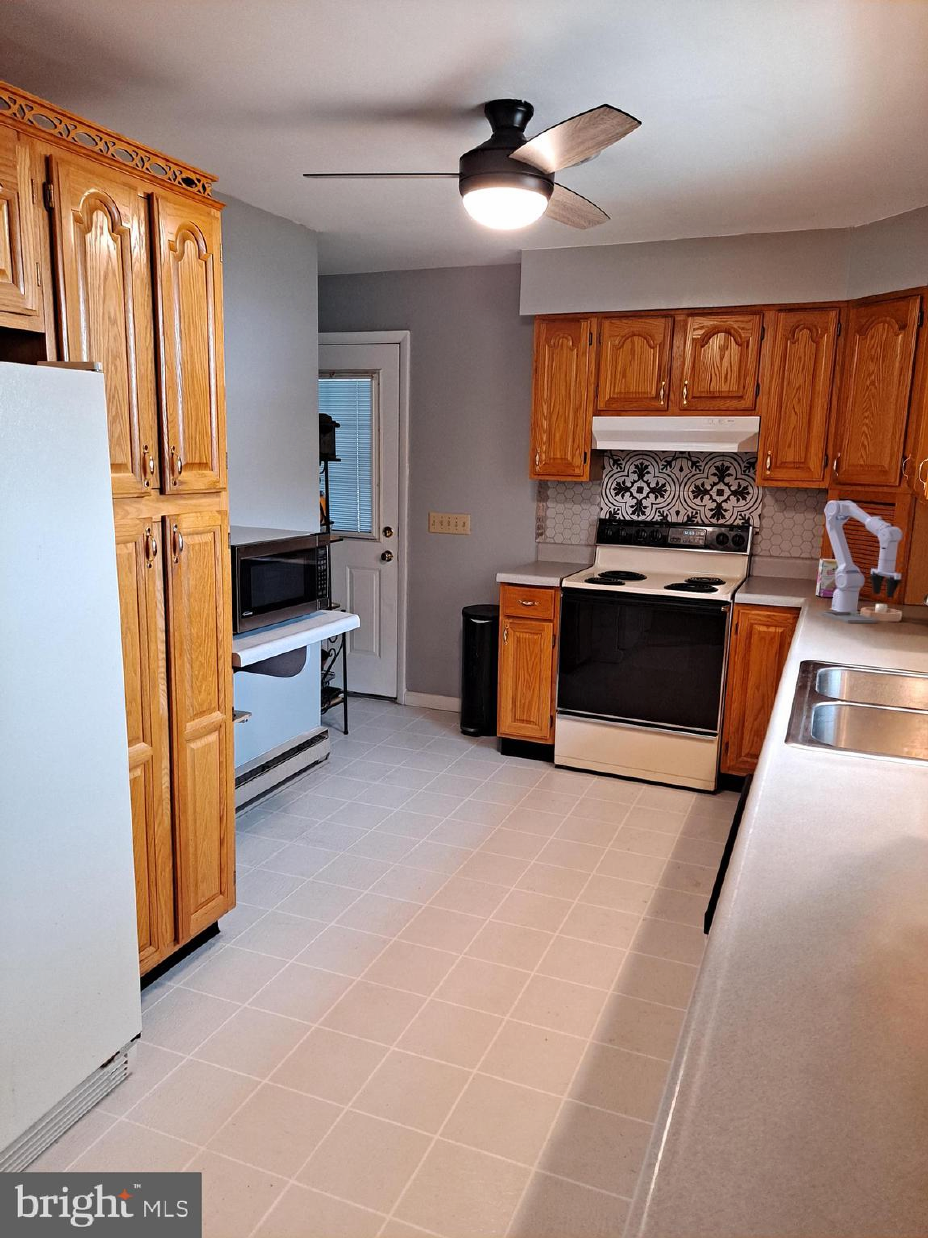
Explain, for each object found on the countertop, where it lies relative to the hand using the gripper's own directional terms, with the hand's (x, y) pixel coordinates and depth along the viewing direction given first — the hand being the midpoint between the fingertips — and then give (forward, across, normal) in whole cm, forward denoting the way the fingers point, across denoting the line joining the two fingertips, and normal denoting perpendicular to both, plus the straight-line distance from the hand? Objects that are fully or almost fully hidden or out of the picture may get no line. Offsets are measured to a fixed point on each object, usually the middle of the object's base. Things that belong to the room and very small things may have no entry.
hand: (882, 595), depth 331 cm
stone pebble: (+8, 0, 0) cm, 8 cm away
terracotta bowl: (+9, 0, 0) cm, 9 cm away
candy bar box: (+9, -50, +12) cm, 52 cm away
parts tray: (+9, +1, -14) cm, 17 cm away
